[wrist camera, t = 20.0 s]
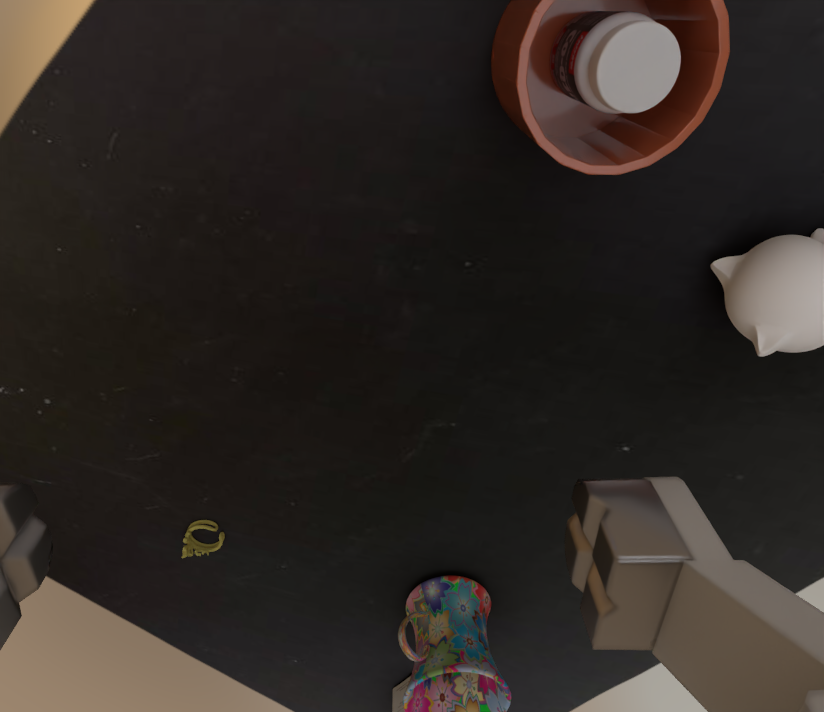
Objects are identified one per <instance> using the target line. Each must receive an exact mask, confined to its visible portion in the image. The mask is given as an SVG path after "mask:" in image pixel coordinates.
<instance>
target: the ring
mask: <svg viewBox="0 0 824 712" xmlns="http://www.w3.org/2000/svg"><path fill="white" fill-rule="evenodd" d="M198 524H211V525H213V526H215V528H213V527H210V526H207V525H198ZM201 528H203V529H209V530H211V531H217V529H218V525H217V524H216V523H215V522H213V521H209V520H198V521H195V522H193V523H192V524H190V526H189V527H188V530H187V532H186V534H185V538H184V540H183V542H184V543H187V545H185V546H184V547H183V550H182V552H183V556H182V558H185V557H187V556H190V557H191V556H193V548H194V549H195V552H194V553H196V555H197V556H201V553H198V552H202V554H204V553H207V555H209V552H212V551H216V550H218V549H219V548H220V547H221V546H222V543H223V541H224V538H225V535H224V532H221V533H220V535H219V540H220V541H218V542H216V543H214V544H204V543H201V542H198V541H197V540H196V539H195V538H194V537H193V536H192V533H191V532H192V531H193V530H195V529H201ZM197 545H198V546H197ZM191 546H192V547H191ZM203 547H205V548H203ZM212 547H213V548H212ZM189 551H190V552H189Z"/></svg>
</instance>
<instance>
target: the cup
mask: <svg viewBox="0 0 824 712" xmlns="http://www.w3.org/2000/svg"><path fill="white" fill-rule="evenodd" d="M593 11H623V12H624V11H628V12H637V13H641V14H644V15H646V16H648V17H650V18H651V19H653V20H654V21H655V22H656V23H659V24H661V25H663V26H665V27H666V28H668V29H669V30H670V31H671V32H672V34H673V35H674V36H675V38H676V40H677V42H678V45H679V48H680V54H681V63H680V70H679V74H678V77H677V79H676V82H675V84H674V86H673V87H672V89H671V90H670V92H669V93H668V94H667V96H666V97H665V98H664V99H663V100H662V101H660V102H659V103H658V104H657V105H655V106H654V107H652V108H650V109H648V110H645V111H643V112H639V113H619V114H610V113H604V112H600V111H597V110H595V109H593V108H591V107H589V106H587V105H585V104H583V103H581V102H579V101H577V100H575V99H572V98H570V97H569V96H567V95H566V94H564V93H563V92H562V91H561V90H560V89H559V88H558V87H557V85H556V84H555V82H554V80H553V77H552V74H551V69H550V56H551V50H552V47H553V44H554V41H555V39H556V37H557V35H558V34H559V32H560V31H561V30H562V28H563V27H564V26H565V25H566V24H567V23H568V22H569V21H571V20H572V19H573V18H575V17H577V16H579V15H581V14H584V13H587V12H593ZM729 51H730V45H729V16H728V12H727V10H726V7H725V4H724V1H723V0H511V1H510V3H509V4H508V6H507V7H506V9H505V11H504V13H503V15H502V17H501V19H500V22H499V25H498V27H497V30H496V33H495V37H494V41H493V47H492V55H491V69H492V79H493V83H494V88H495V91H496V94H497V97H498V99H499V101H500V103H501V105H502V107H503V109H504V111H505V112H506V113H507V115H508V116H509V118H510V120H511V121H512V122H513V123H514V124H516V125H517V126H518V127H519V128H520V129H521V130H522V131H523V132H524V133H525V134H527V135H528V136H529V137H530V138H531V139H532V140H533V141H534V142H535V143H536V144H537V145H539V146H540V147H541V148H542V149H543V150H544V151H546V152H547V153H548V154H549V155H550V156H551V157H552V158H554V159H555V160H556V161H557V162H558V163H559V164H561V165H563V166H566V167H569V168H572V169H574V170H577V171H580V172H582V173H585V174H589V175H620V174H624V173H627V172H630V171H634V170H637V169H640V168H644V167H647V166H649V165H651V164H653V163H654V162H656V161H658V160H659V159H661V158H662V157H664V156H665V155H667V154H669V153H670V152H672V151H673V150H675V149H676V148H677V147H679V146H680V145H681V144H682V143H683V142H684V140H685V139H686V138H687V137H688V136H689V135H690V134H691V133H692V132H693V131H694V130H695V129H696V128H697V126H698V125H699V124H700V123H701V122H702V121H703V119H704V118H705V116H706V114H707V112H708V110H709V109H710V107H711V105H712V103H713V101H714V100H715V98H716V96H717V94H718V92H719V90H720V88H721V84H722V80H723V77H724V73H725V69H726V65H727V61H728V57H729Z"/></svg>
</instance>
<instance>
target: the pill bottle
mask: <svg viewBox="0 0 824 712" xmlns="http://www.w3.org/2000/svg"><path fill="white" fill-rule="evenodd" d="M680 63H681V54H680V48H679V45H678V42H677V40H676V38H675V36H674V35H673V34H672V32H671V31H670V30H669V29H668V28H666V27H665V26H663V25H661V24H659V23H656V22H655V21H654V20H653V19H651V18H650V17H648V16H646V15H644V14H641V13H637V12H628V11H624V12H623V11H593V12H587V13H584V14H581V15H579V16H577V17H575V18H573V19H572V20H571V21H569V22H568V23H567V24H566V25H565V26H564V27H563V28H562V30H561V31H560V32H559V34H558V35H557V37H556V39H555V41H554V44H553V47H552V50H551V56H550V69H551V74H552V77H553V80H554V82H555V84H556V85H557V87H558V88H559V89H560V90H561V91H562V92H563V93H564V94H566V95H567V96H569V97H570V98H572V99H575V100H577V101H579V102H581V103H583V104H585V105H587V106H589V107H591V108H593V109H595V110H597V111H600V112H604V113H610V114H619V113H639V112H643V111H645V110H648V109H650V108H652V107H654V106H655V105H657V104H658V103H659V102H660V101H662V100H663V99H664V98H665V97H666V96H667V94H668V93H669V92H670V90H671V89H672V87H673V86H674V84H675V82H676V79H677V77H678V74H679V70H680Z"/></svg>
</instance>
